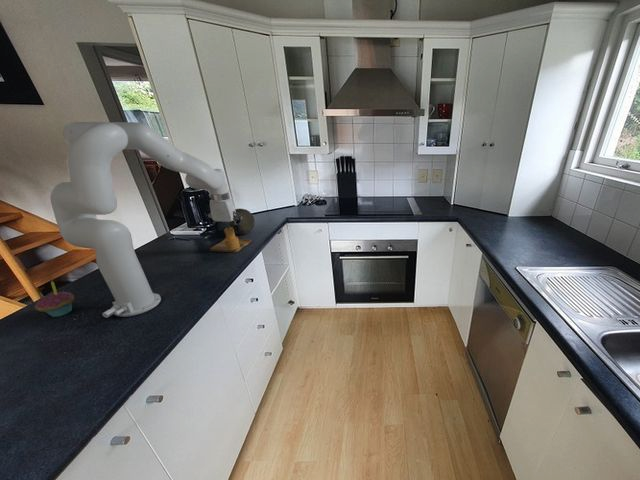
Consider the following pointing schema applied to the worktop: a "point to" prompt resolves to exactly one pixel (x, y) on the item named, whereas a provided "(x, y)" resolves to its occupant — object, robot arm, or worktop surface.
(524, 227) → the worktop surface
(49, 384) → the worktop surface
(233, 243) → the squash
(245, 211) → the cantaloupe
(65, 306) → the cupcake
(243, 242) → the board
